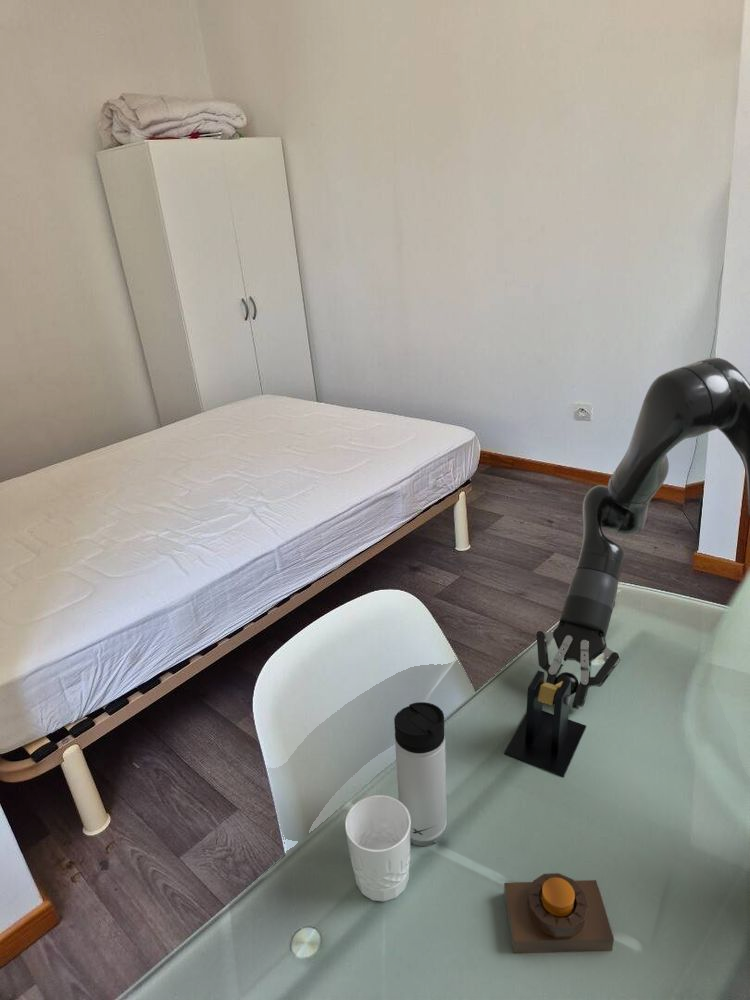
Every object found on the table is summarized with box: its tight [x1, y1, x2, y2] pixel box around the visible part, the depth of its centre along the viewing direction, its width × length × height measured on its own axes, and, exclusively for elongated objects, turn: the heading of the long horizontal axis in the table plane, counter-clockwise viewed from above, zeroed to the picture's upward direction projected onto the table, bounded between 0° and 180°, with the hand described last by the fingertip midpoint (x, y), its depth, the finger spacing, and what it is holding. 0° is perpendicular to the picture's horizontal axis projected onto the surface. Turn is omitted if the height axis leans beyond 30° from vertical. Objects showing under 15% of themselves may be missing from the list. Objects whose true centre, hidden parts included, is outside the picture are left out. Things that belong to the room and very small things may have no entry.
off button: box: [541, 878, 575, 917], centre depth 78 cm, size 4×4×2 cm
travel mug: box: [393, 701, 448, 847], centre depth 88 cm, size 6×7×20 cm
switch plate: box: [503, 872, 615, 954], centre depth 79 cm, size 11×7×4 cm, turn 89°
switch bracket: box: [503, 670, 587, 778], centre depth 102 cm, size 11×9×12 cm
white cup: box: [344, 794, 411, 903], centre depth 84 cm, size 8×8×10 cm
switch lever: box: [538, 671, 580, 707], centre depth 105 cm, size 14×4×4 cm, turn 150°
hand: (562, 703), depth 109 cm, fingers closed on switch lever, 3 cm apart
